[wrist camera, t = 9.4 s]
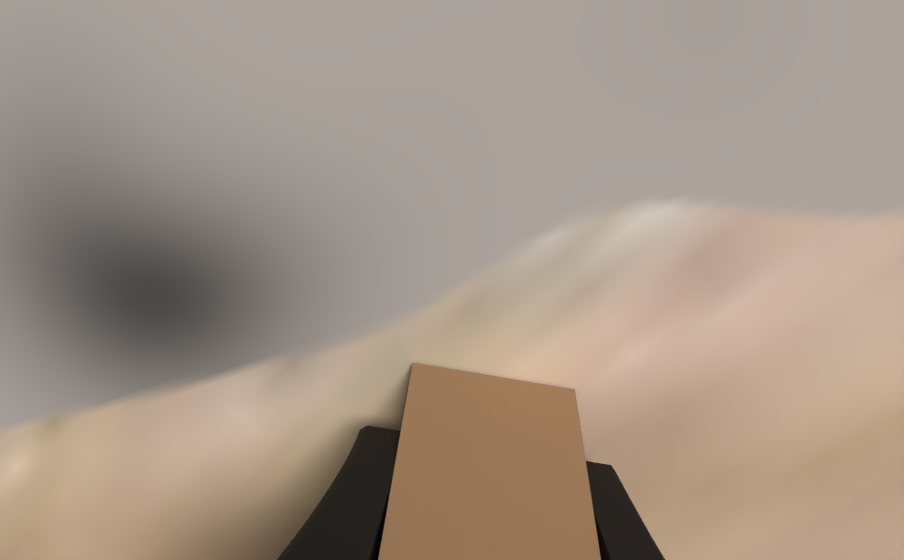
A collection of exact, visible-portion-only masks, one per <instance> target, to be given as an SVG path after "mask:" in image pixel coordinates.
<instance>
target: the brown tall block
mask: <svg viewBox="0 0 904 560" xmlns="http://www.w3.org/2000/svg"><path fill="white" fill-rule="evenodd" d="M378 560H601V556H600V550H599V543H598V537H597V531H596V524H595V518H594V511H593V505H592V498H591V492H590V485H589V479H588V472H587V466H586V459H585V453H584V446H583V440H582V433H581V427H580V420H579V414H578V407H577V401H576V394H575V390H573V389H567V388H561V387H555V386H549V385H543V384H537V383H531V382H525V381H519V380H513V379H507V378H501V377H495V376H489V375H483V374H477V373H471V372H465V371H459V370H453V369H447V368H441V367H435V366H429V365H422V364H416V363H413V364H412V370H411V375H410V381H409V387H408V392H407V398H406V404H405V410H404V415H403V421H402V427H401V432H400V438H399V444H398V450H397V455H396V461H395V467H394V473H393V478H392V484H391V490H390V495H389V501H388V507H387V513H386V518H385V524H384V530H383V535H382V541H381V547H380V553H379V558H378Z"/></svg>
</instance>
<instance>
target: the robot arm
mask: <svg viewBox="0 0 904 560" xmlns="http://www.w3.org/2000/svg"><path fill="white" fill-rule="evenodd" d="M400 432H401V431H397V430H391V429H385V428H379V427H373V426H366V427H364V428H363V429H361V430H360V432H359V434H358V437H357V440H356V442H355V444H354V446H353V448H352V450H351V452H350V454H349V456H348V458H347V460H346V461H345V463H344V465H343V467H342V468H341V470H340V472H339V473H338V475H337V477H336V478H335V480H334V482H333V483H332V485H331V486H330V488H329V489H328V491H327V492H326V494H325V495H324V497H323V498H322V500H321V501H320V503H319V504H318V506H317V507H316V509H315V510H314V512H313V513H312V515H311V516H310V517H309V519H308V520H307V522H306V523H305V524H304V526H303V527H302V528H301V530H300V531H299V532H298V533H297V535H296V536H295V537H294V539H293V540H292V541H291V543H290V544H289V545H288V546H287V548H286V549H285V550H284V552H283V553H282V554H281V555H280V557H279V558H278V559H277V560H378V558H379V553H380V547H381V541H382V535H383V530H384V524H385V518H386V513H387V507H388V501H389V495H390V490H391V484H392V478H393V473H394V467H395V461H396V455H397V450H398V444H399V438H400ZM586 466H587V472H588V479H589V485H590V492H591V498H592V505H593V511H594V518H595V524H596V531H597V537H598V543H599V550H600V556H601V560H665V559H664V557H663V555H662V554H661V552H660V550H659V549H658V547H657V545H656V544H655V542H654V540H653V539H652V537H651V535H650V533H649V532H648V530H647V528H646V526H645V525H644V523H643V521H642V519H641V518H640V516H639V514H638V512H637V510H636V509H635V507H634V505H633V503H632V501H631V499H630V498H629V496H628V494H627V492H626V490H625V488H624V487H623V485H622V483H621V481H620V479H619V477H618V475H617V474H616V472H615V470H614V469H613V467H612V466H611V465H606V464H600V463H594V462H588V461H586Z"/></svg>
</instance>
